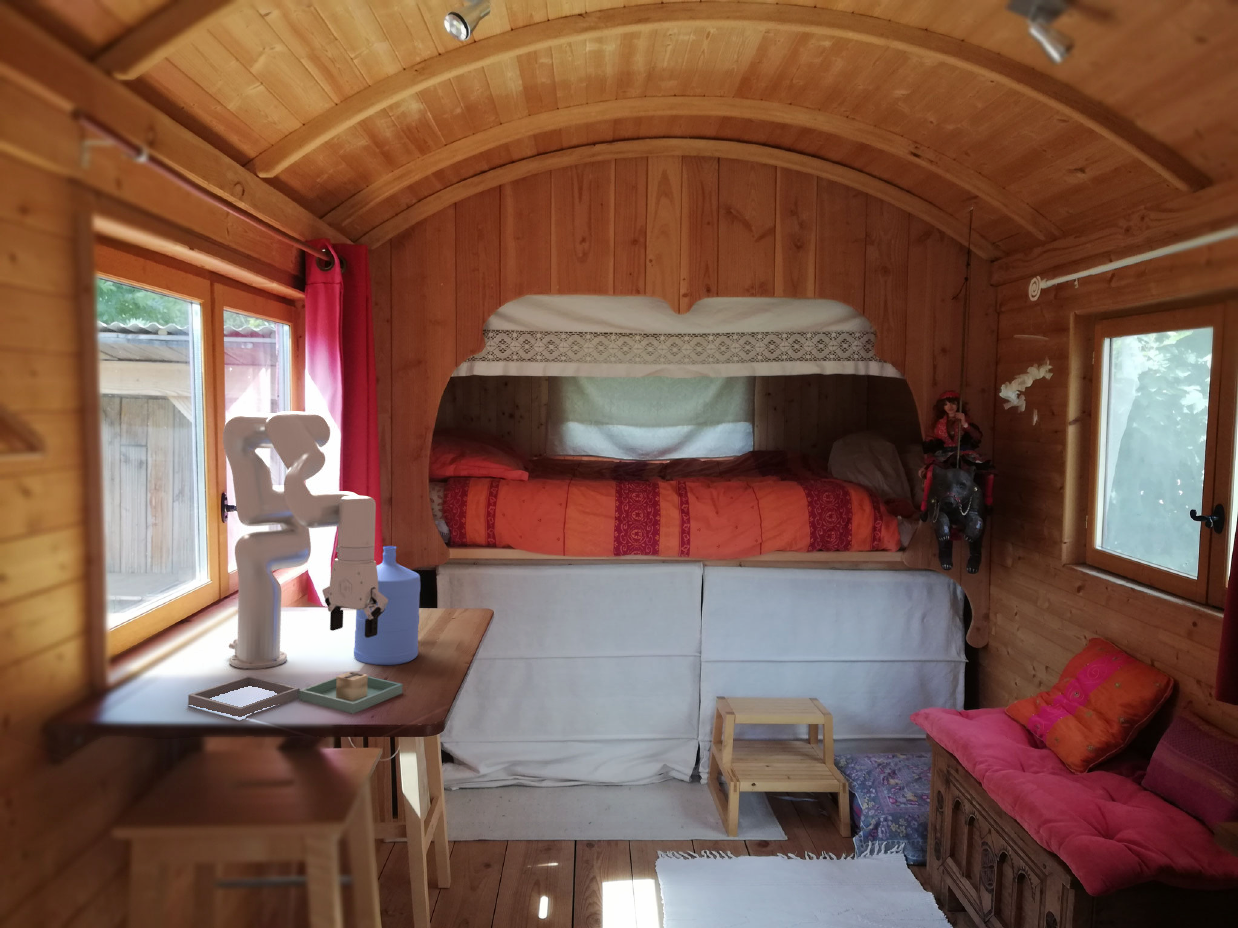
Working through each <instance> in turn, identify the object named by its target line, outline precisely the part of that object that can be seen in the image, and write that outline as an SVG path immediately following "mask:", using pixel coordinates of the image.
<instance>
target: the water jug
mask: <svg viewBox="0 0 1238 928" xmlns="http://www.w3.org/2000/svg"><path fill="white" fill-rule="evenodd" d="M382 549H383V553H382V562H381V563H380V564H376V566H377V574H378V591H379V592H380V593H381V594H382V595H383V596H385V597H386V598H387V599H388V603H387V605H386V607H385V610H384V612H383V613H382V614H381V616H380V617H378V630H377V635H375V636H372V637H369V638H366V637H365V620H366V619H368V617H367V615H366V614H365V612H364V610H363V609H362V610H356V609H355V610H356V612H355V613H356V614H355V631H354V648H353V657H354V659H355V660H357V661H358V662H360V663H363V664H368V665H375V666H395V665H401V664H402V665H403V664H405V663H408V662H411V661H414V659H417V656H418V654H419V644H418V643H419V624H420V593H421V576H420V574H419V573H417V572H416V571H413V570H411V569H410V568H407V567H405V566H402V565H400V564H399V563H397V562H396V561H397V560H396V556H397V553H396V551H397V546H394V545H386V546H383V547H382ZM376 606H378V602H377V605H376ZM370 610H371V612H372V609H371V608H370Z"/></svg>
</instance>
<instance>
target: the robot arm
mask: <svg viewBox="0 0 1238 928" xmlns="http://www.w3.org/2000/svg"><path fill="white" fill-rule="evenodd" d="M330 437H331V428H330V425H329V422H328V421H327V419H326V418H325V417H324V416H323V415H321V414H320V413H317V412H311V411H310V412H309V411H280V412H277V413H266V412H246V413H245V412H243V413H238V414H235V415H233V416H231V417H229V418H228V420H227V421H226V422H225V424H224V427H223V431H222V445H223V450H224V454H225V456H226V458H227V461H228V464H229V466H230V470H231V474H232V475H231V476H232V482H233V489H234V499H235V507H236V512H237V517H238V519H239V522H240V523H241V524H242V525H244V526H247V527H261V526H262V527H263V526H264V527H266V526H275V525H276V526H277V525H278V526H280V528H281V529H276V530H275V529H273V530H272V529H271V530H262V531H255V532H249V533H246V534H244V535H242V536H241V537H239V539H237V541H236V543H235V545H234V557H235V563H236V568H237V578H238V579H237V580H238V583H237V584H238V597H237V598H238V603H237V604H238V605H237V607H238V609H237V616H238V617H237V638H235V639H234V640H233V642H231V643H229V644H228V648H229V650H230V649H231V650H234V655H232V656H231V657H230V659H229V664H230V665H231V666H233V667H234V668H239V669H246V668H258V669H266V667H267V668H271V667H277V666H279V665H281V664H284V663H285V662H286V661H287V659H288V658H287V656H288V655H287V653H285V651H281V630H282V629H281V625H282V622H281V621H282V586H281V583H280V582H279V580H278V578H276V576H275V575H274V572H273V571H276V570H281V569H291V568H297V567H302V566H303V565H306V563H307V562H308V561H309V560H310V557H311V553H312V549H311V548H312V546H311V545H312V544H311V536H310V529H319V528H329V527H330V528H331V527H337V546H336V547H335V552H337V556H336V557H337V558H335V559H334V560H333V564H332V568H331V573H330V580H329V586H327V587H324V588H323V589H322V592H321V593H322V595H323V598H324V603H325V604H326V605H327V610H328V612H329V614H330V619H329V620H330V621H329V622H330V623H329V631H332V632H333V631H337V630H340V629H343V627H344V609H342V608H346V609H352V610H362V609H363V610H364V612H365V614H366V615H367V617H368V619H366V620H365V637H366V638H369V637H372V636H375V635H377V630H378V617H380V616H381V614H382V613H383V612H384V610H385V607H386V605H387V603H388V599H387V598H386V597H385V596H383V595H382V594H381V593H380V592H379V591H378V574H377V561H376V560H375V546H376V545H375V540H376V510H377V507H376V505H377V504H376V503H377V502H376V500H375V499H374V498H373V497H371V496H367V495H359V494H357V493H355V492H352V491H325V492H323V491H322V492H311V491H310V490H309V488H308V486H306V484H305V481H307V480H309V479H310V478H312V477H313V476H316V475H317V474H318V473H319V472H320V471H321V470H322V469H323V467H324V466H325V463H326V456H325V453H324V452H323V450H322V449H321V448H322V447H324V446H326V445H327V443H328V442H329V440H330ZM257 449H274V450H275V452H276V453H277V455H278V456H279V459H280V460H281V462H282V463H283V465H284V466H285V468H286V470H287V472H286V475H285V477H284V480H283V481H284V482H283V485H274V484H273V480H272V474H271V473H272V472H271V468H270V466H269V464H268V462H267V461H266V459H265V458H264V457H263V456H262V454H260V453H259V452H258V451H257ZM377 602H378V606H376V605H377ZM370 608H371V609H372V612H371V610H370Z"/></svg>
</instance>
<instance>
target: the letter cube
mask: <svg viewBox="0 0 1238 928" xmlns="http://www.w3.org/2000/svg"><path fill="white" fill-rule="evenodd" d="M368 676H369V675H368V674H365V673H361V672H356V671H352V670H351V671H348V672H346V673H342V674H340V675H338V676H336V677H337V683H336V697H337V698H341V699H345V700H349V701H354V700H356V699H359V698H361V697H364V696H366V695H367V680H368Z"/></svg>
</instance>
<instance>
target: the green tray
mask: <svg viewBox="0 0 1238 928" xmlns="http://www.w3.org/2000/svg"><path fill="white" fill-rule="evenodd" d="M336 683H337V676H336V677H333V678H330V679H327V680H325V681H322V682H318V683H316V684H312V685H310V686H307V687H305V688H302V689H299V698H298V699H299V700H298V701H302V702H306V703H309V704H313V705H316V706H317V705H318V706H321V707H322V706H323V707H325V708H330V709H334V710H337V711H341V712H345V713H349V714H354V715H355V714H357V713H358V712H360V711H363V710H366V709H368V708H370V707H373V706H375V705H377V704H380V703H382V702H384V701H387V700H390V699H392V698H394V697H396V696H399V695H402V694H403V683H400V682H394V681H392V680H386V679H381V678H378V677H373V676H369V675H368V680H367V695H366V696H364V697H361V698H359V699H356V700H354V701H349V700H345V699H341V698H337V697H336Z"/></svg>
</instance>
